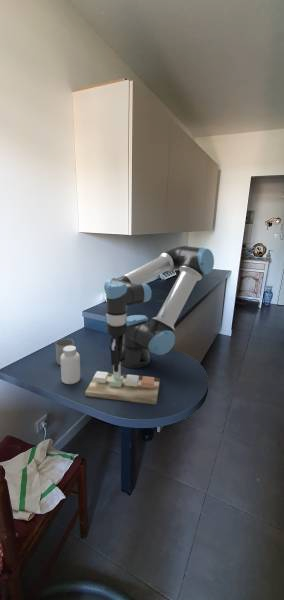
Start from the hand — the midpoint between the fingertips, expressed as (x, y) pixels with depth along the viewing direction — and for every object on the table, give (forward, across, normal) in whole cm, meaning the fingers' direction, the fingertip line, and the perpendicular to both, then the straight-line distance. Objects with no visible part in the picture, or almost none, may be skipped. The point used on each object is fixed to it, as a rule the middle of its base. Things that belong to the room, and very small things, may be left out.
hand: (116, 376), depth 112 cm
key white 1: (+2, 0, -7) cm, 7 cm away
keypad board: (+5, 0, +3) cm, 6 cm away
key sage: (+3, 0, 0) cm, 3 cm away
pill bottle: (+6, -3, -21) cm, 22 cm away
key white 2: (+2, 0, +6) cm, 7 cm away
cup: (+6, -18, -30) cm, 35 cm away
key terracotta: (+2, 0, +13) cm, 13 cm away
